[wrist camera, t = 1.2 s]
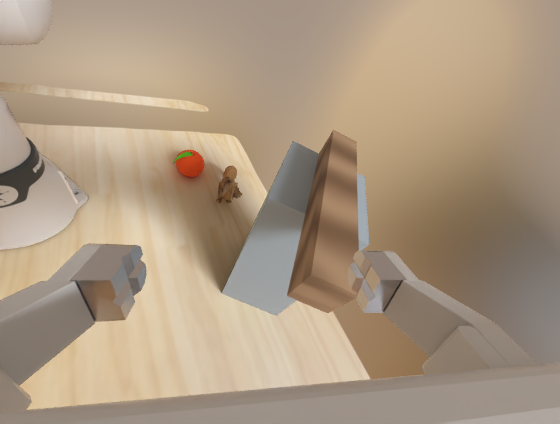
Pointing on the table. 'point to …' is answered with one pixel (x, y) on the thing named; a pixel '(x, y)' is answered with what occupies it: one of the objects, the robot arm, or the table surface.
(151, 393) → the table surface
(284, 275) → the stand
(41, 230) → the robot arm
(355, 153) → the bar
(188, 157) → the clementine
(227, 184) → the lion figurine
